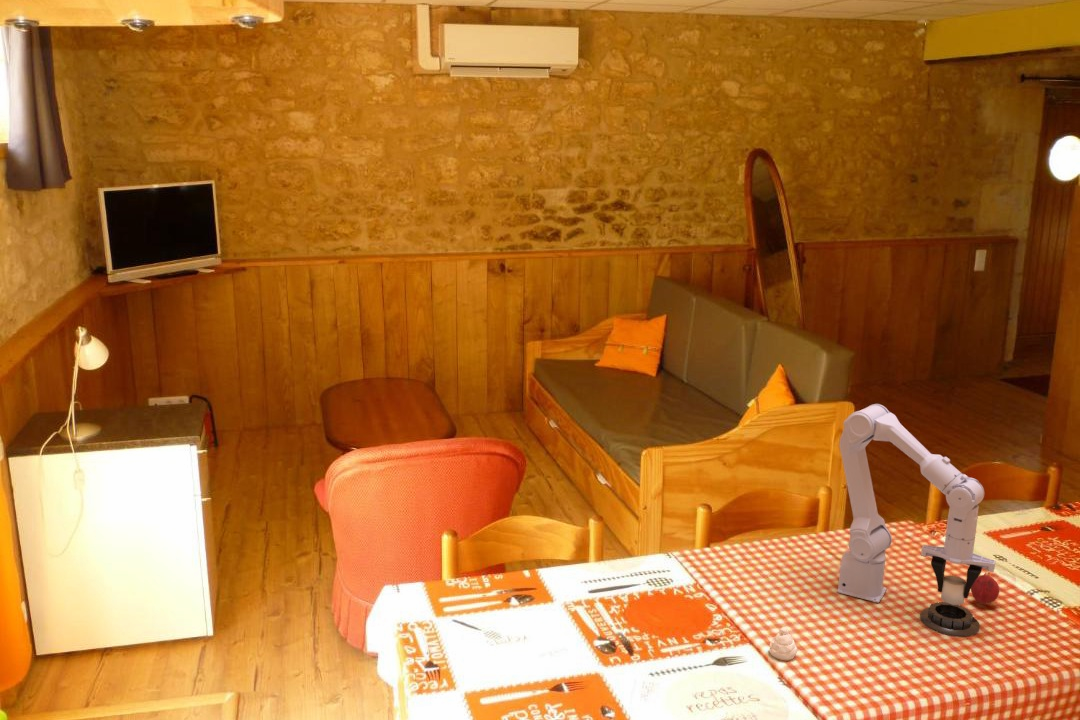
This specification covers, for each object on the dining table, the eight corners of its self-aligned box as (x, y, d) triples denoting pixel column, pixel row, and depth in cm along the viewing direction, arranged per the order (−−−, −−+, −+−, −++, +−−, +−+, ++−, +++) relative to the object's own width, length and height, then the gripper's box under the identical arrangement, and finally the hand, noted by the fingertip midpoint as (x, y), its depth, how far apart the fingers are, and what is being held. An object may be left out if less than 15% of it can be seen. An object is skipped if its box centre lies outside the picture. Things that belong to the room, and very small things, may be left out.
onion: (999, 612, 214) (1004, 579, 212) (972, 609, 215) (976, 576, 213) (993, 599, 219) (997, 567, 217) (966, 597, 220) (970, 565, 219)
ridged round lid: (914, 626, 207) (916, 615, 206) (925, 604, 217) (927, 593, 216) (974, 642, 201) (976, 631, 200) (983, 618, 211) (984, 607, 210)
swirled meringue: (776, 618, 198) (802, 626, 195) (774, 644, 199) (799, 652, 196) (767, 630, 193) (793, 638, 190) (765, 656, 194) (791, 665, 192)
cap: (938, 600, 207) (941, 580, 206) (943, 592, 211) (946, 573, 209) (961, 606, 204) (963, 586, 203) (965, 598, 208) (968, 578, 207)
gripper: (920, 533, 204) (914, 591, 208) (995, 549, 197) (986, 609, 200) (927, 522, 210) (920, 579, 213) (999, 537, 203) (991, 596, 206)
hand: (953, 593), depth 207 cm, fingers closed on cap, 5 cm apart
